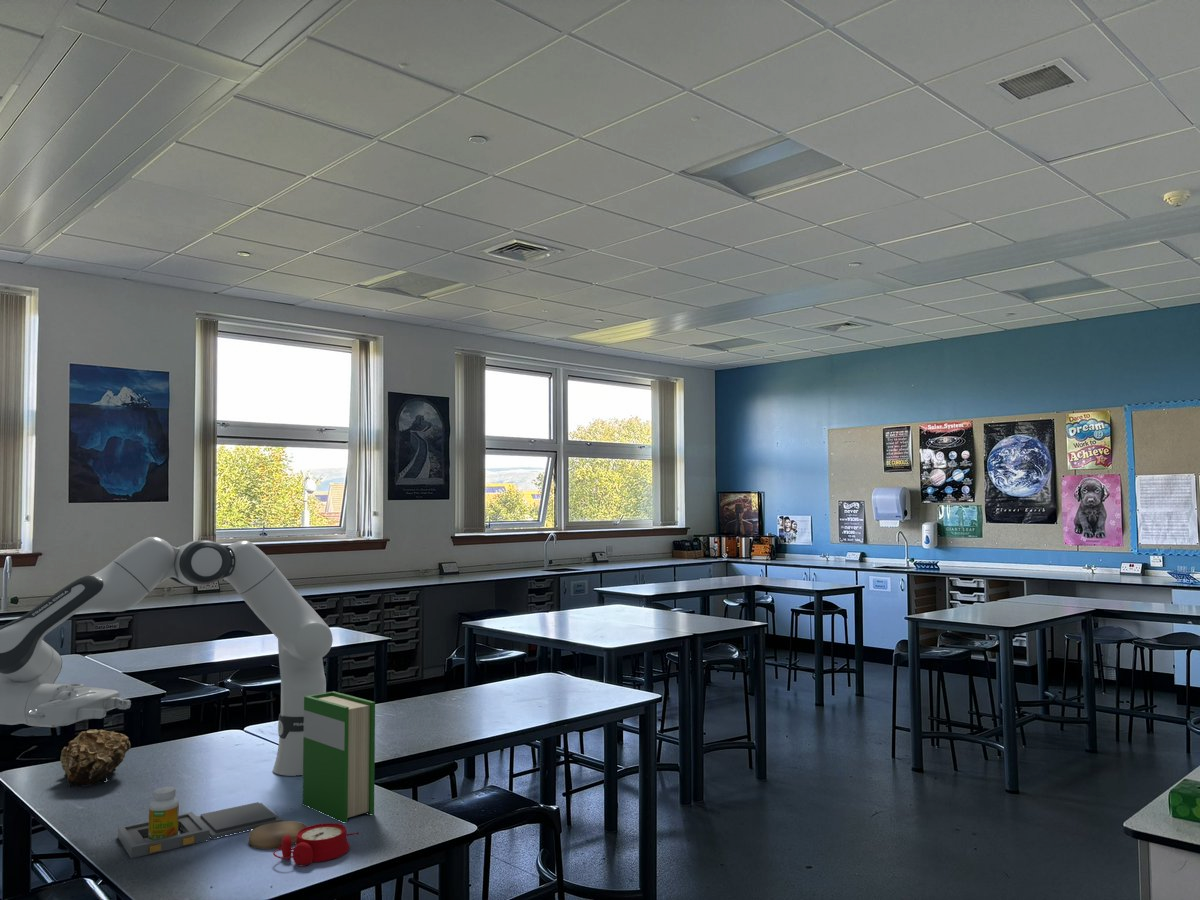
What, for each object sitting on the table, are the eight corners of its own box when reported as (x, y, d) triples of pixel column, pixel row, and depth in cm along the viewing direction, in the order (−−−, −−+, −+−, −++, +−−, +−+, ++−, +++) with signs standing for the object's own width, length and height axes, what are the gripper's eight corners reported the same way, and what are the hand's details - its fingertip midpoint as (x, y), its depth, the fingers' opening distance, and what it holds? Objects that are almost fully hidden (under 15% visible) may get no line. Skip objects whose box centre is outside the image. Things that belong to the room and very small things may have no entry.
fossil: (41, 765, 217) (75, 708, 221) (98, 781, 225) (129, 725, 229) (54, 794, 198) (91, 731, 203) (116, 810, 206) (149, 749, 211)
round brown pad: (295, 824, 181) (295, 817, 181) (314, 839, 173) (315, 832, 173) (241, 837, 174) (241, 829, 175) (258, 853, 166) (258, 845, 166)
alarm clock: (365, 830, 168) (296, 834, 157) (358, 865, 166) (288, 871, 156) (336, 818, 175) (268, 821, 164) (330, 851, 173) (260, 856, 163)
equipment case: (261, 806, 193) (261, 797, 193) (283, 824, 182) (283, 814, 182) (117, 837, 175) (118, 827, 175) (132, 859, 164) (132, 848, 164)
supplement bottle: (148, 845, 170) (149, 795, 171) (148, 837, 175) (149, 788, 176) (178, 840, 173) (179, 791, 174) (177, 832, 178) (178, 784, 178)
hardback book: (374, 814, 187) (375, 702, 189) (343, 823, 182) (344, 707, 184) (332, 796, 199) (333, 691, 201) (302, 804, 194) (304, 696, 196)
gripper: (22, 699, 174) (90, 703, 174) (82, 682, 194) (143, 685, 194) (18, 731, 173) (86, 735, 173) (78, 710, 194) (140, 714, 194)
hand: (117, 709), depth 184 cm, fingers open, 8 cm apart
